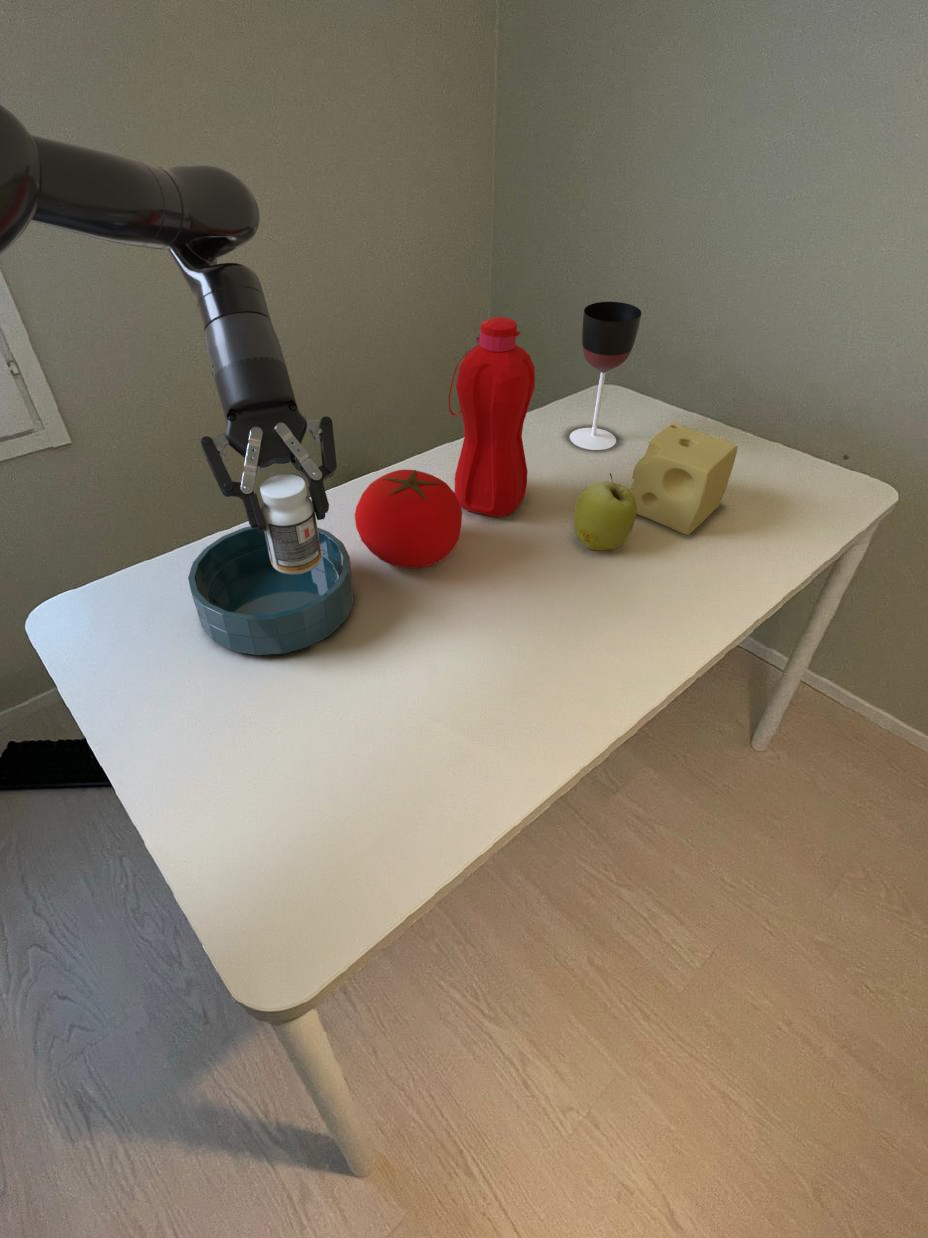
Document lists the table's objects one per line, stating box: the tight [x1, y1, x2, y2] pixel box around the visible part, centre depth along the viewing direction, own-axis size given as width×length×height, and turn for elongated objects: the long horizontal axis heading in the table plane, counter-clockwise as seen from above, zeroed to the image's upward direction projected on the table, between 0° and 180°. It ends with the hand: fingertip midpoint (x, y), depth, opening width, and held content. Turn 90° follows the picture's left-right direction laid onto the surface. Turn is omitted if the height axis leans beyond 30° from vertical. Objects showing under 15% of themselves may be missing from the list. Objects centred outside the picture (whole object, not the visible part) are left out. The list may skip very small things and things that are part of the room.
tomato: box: [354, 469, 463, 569], centre depth 87 cm, size 12×13×11 cm
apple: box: [573, 473, 637, 551], centre depth 90 cm, size 8×8×10 cm
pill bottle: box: [259, 473, 322, 575], centre depth 76 cm, size 6×6×10 cm
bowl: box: [187, 525, 354, 656], centre depth 80 cm, size 17×17×6 cm
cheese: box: [627, 422, 739, 536], centre depth 96 cm, size 10×11×10 cm
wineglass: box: [569, 301, 642, 451], centre depth 108 cm, size 8×9×20 cm
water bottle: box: [448, 316, 536, 518], centre depth 92 cm, size 9×11×25 cm
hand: (292, 523), depth 74 cm, fingers closed on pill bottle, 5 cm apart
